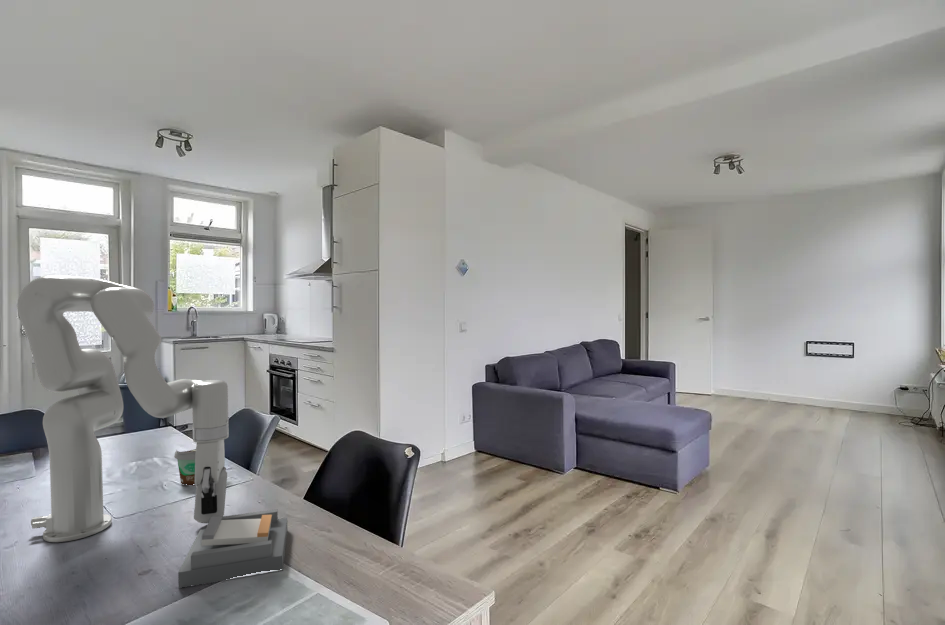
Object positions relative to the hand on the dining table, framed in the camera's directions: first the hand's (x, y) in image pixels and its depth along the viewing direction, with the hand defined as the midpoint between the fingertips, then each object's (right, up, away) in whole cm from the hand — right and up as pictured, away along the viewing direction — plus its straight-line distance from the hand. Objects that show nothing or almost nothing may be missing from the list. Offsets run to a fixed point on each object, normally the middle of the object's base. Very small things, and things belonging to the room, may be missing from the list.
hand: (212, 506), depth 116 cm
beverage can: (-1, -3, 0) cm, 3 cm away
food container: (-19, -4, +28) cm, 35 cm away
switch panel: (+13, -4, -15) cm, 20 cm away
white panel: (+13, +1, -15) cm, 20 cm away
